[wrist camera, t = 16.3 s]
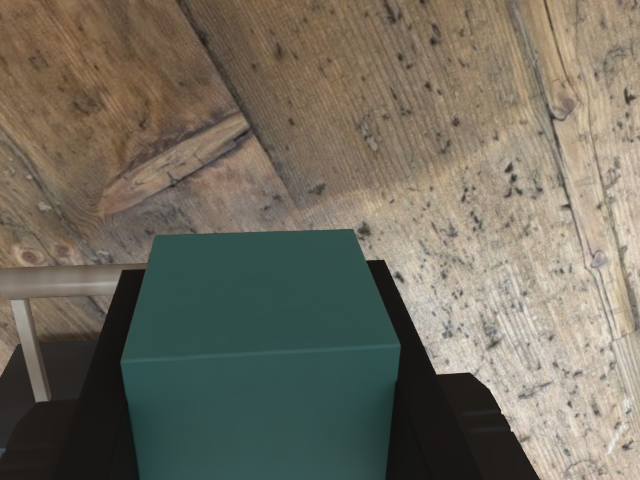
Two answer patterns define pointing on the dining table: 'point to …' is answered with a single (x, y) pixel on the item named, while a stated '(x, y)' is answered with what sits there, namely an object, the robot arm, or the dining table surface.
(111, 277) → the drawer
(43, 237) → the dining table surface
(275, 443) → the block
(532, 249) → the dining table surface
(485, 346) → the dining table surface
